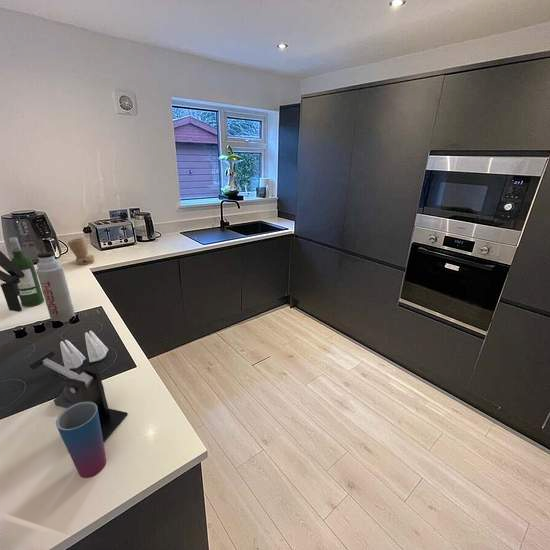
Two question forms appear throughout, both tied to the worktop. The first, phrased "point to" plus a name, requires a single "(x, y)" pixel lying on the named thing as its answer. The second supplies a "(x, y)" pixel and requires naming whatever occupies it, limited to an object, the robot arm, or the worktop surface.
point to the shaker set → (75, 358)
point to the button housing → (63, 399)
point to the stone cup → (81, 251)
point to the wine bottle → (26, 277)
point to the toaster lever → (61, 369)
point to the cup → (83, 437)
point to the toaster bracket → (95, 400)
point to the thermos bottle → (54, 287)
